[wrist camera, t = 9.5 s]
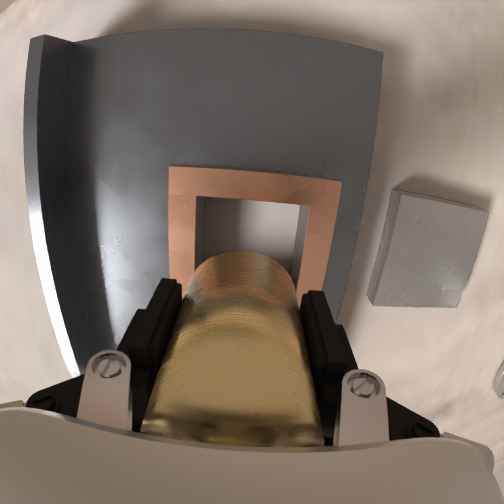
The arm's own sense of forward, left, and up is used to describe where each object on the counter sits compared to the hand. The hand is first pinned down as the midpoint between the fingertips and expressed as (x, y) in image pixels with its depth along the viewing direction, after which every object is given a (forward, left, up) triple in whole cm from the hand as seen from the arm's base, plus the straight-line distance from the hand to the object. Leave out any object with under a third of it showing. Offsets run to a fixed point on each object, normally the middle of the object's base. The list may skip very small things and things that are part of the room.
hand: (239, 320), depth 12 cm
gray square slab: (-13, 0, -10) cm, 16 cm away
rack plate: (+3, 0, -10) cm, 10 cm away
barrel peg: (0, 0, -1) cm, 1 cm away
